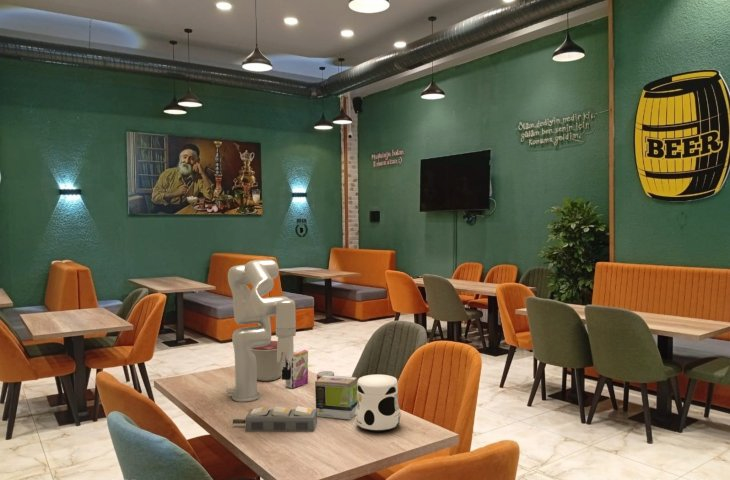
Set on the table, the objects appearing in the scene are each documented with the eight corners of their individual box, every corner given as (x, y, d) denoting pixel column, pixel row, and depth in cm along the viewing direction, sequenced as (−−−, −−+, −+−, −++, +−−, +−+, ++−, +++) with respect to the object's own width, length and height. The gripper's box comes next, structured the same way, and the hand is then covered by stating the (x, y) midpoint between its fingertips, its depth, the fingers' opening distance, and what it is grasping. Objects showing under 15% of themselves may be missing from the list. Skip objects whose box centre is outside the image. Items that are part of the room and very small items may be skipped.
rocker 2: (272, 415, 205) (272, 410, 205) (275, 410, 210) (275, 406, 210) (288, 416, 205) (288, 412, 205) (290, 412, 210) (290, 407, 210)
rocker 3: (294, 414, 205) (295, 410, 204) (296, 409, 210) (297, 405, 209) (309, 417, 204) (310, 413, 204) (311, 413, 209) (312, 408, 209)
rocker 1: (251, 417, 205) (250, 413, 205) (254, 413, 210) (253, 408, 210) (266, 414, 205) (265, 410, 205) (269, 409, 210) (268, 405, 210)
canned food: (335, 394, 245) (335, 370, 245) (333, 400, 237) (332, 376, 237) (319, 394, 246) (318, 370, 245) (315, 400, 238) (315, 375, 237)
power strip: (229, 431, 204) (229, 417, 204) (236, 422, 213) (236, 409, 213) (313, 431, 202) (313, 417, 202) (317, 422, 211) (316, 409, 211)
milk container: (349, 422, 211) (348, 376, 211) (389, 415, 218) (388, 371, 217) (365, 438, 195) (364, 389, 195) (408, 430, 202) (407, 383, 201)
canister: (292, 375, 277) (292, 334, 277) (272, 385, 261) (272, 342, 260) (263, 371, 285) (262, 332, 284) (242, 381, 268) (241, 339, 268)
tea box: (358, 412, 222) (358, 376, 222) (349, 420, 213) (349, 383, 212) (325, 408, 227) (324, 373, 227) (315, 416, 218) (314, 380, 217)
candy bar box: (293, 389, 254) (292, 354, 254) (285, 387, 257) (284, 353, 256) (308, 383, 263) (308, 350, 263) (301, 381, 266) (300, 348, 266)
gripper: (280, 327, 214) (280, 373, 215) (271, 336, 199) (272, 385, 200) (298, 327, 214) (299, 373, 214) (292, 336, 199) (292, 385, 199)
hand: (286, 379), depth 207 cm, fingers closed
